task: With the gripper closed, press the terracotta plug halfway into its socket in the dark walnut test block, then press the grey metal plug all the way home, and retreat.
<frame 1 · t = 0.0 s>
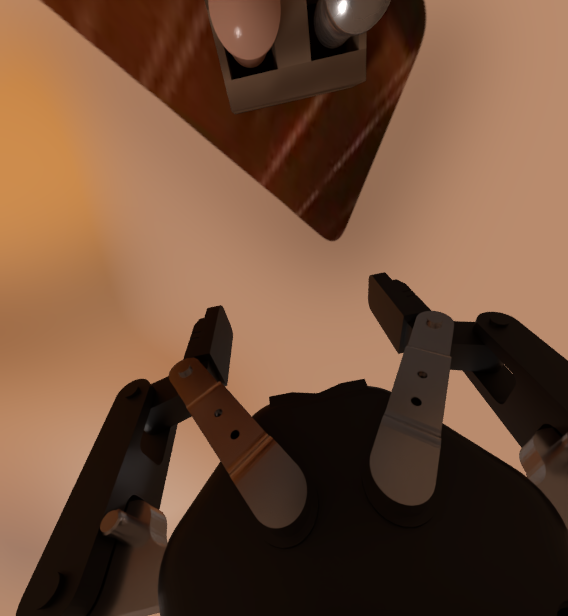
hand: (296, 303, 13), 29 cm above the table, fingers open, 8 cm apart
grey plug: (345, 2, 21), point 9 cm above the table, slide at 0.0 cm
socket board: (285, 44, 28), on the table
terracotta plug: (246, 26, 21), point 9 cm above the table, slide at 0.0 cm
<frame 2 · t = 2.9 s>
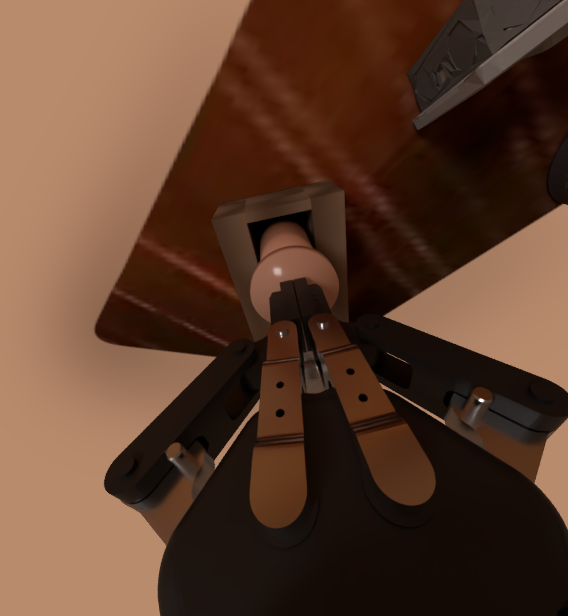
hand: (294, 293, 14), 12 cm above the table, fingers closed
grey plug: (306, 354, 22), point 9 cm above the table, slide at 0.0 cm
socket board: (288, 266, 26), on the table
terracotta plug: (288, 264, 17), point 8 cm above the table, slide at 0.9 cm, touching gripper
electrical switch: (457, 51, 18), on the table
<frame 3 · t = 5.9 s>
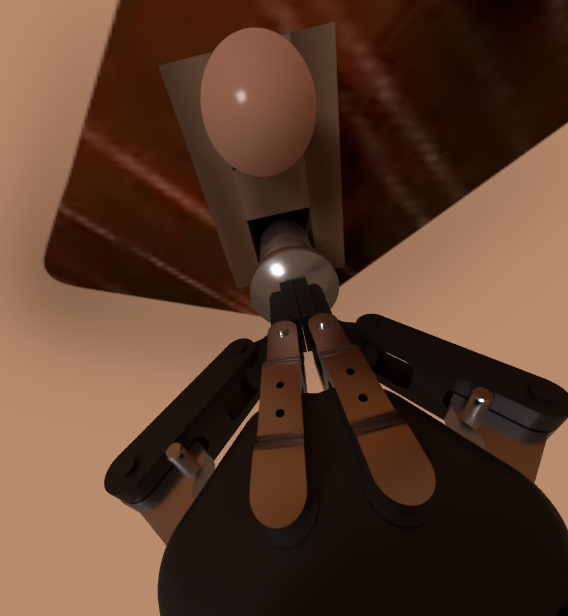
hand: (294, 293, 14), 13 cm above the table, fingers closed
grey plug: (288, 264, 17), point 9 cm above the table, slide at 0.2 cm, touching gripper
socket board: (270, 178, 22), on the table
terracotta plug: (259, 116, 14), point 7 cm above the table, slide at 2.5 cm
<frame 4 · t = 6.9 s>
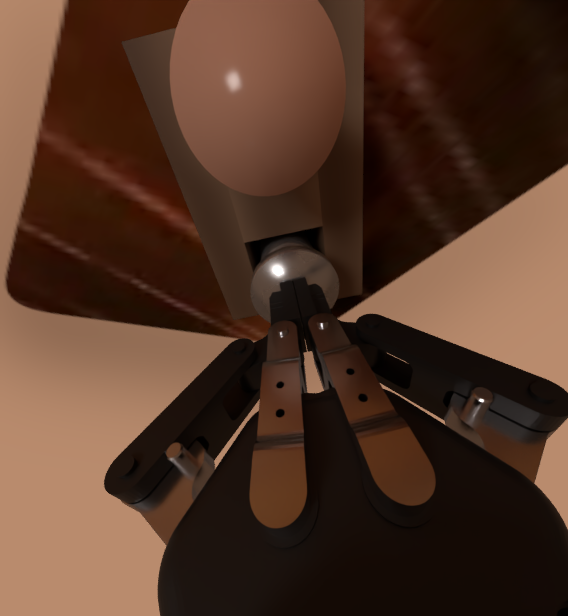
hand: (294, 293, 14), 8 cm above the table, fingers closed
grey plug: (288, 264, 17), point 4 cm above the table, slide at 4.8 cm, touching gripper
socket board: (273, 188, 18), on the table
terracotta plug: (260, 111, 10), point 7 cm above the table, slide at 2.5 cm
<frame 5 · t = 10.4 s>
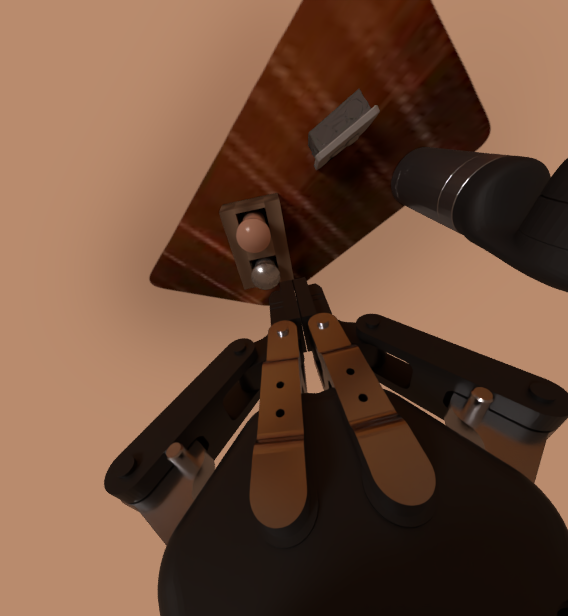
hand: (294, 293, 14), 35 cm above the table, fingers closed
grey plug: (265, 267, 47), point 4 cm above the table, slide at 4.9 cm
socket board: (259, 239, 48), on the table
terracotta plug: (253, 228, 40), point 7 cm above the table, slide at 2.5 cm
electrical switch: (329, 136, 39), on the table
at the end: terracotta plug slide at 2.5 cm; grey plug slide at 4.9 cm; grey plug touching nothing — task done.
